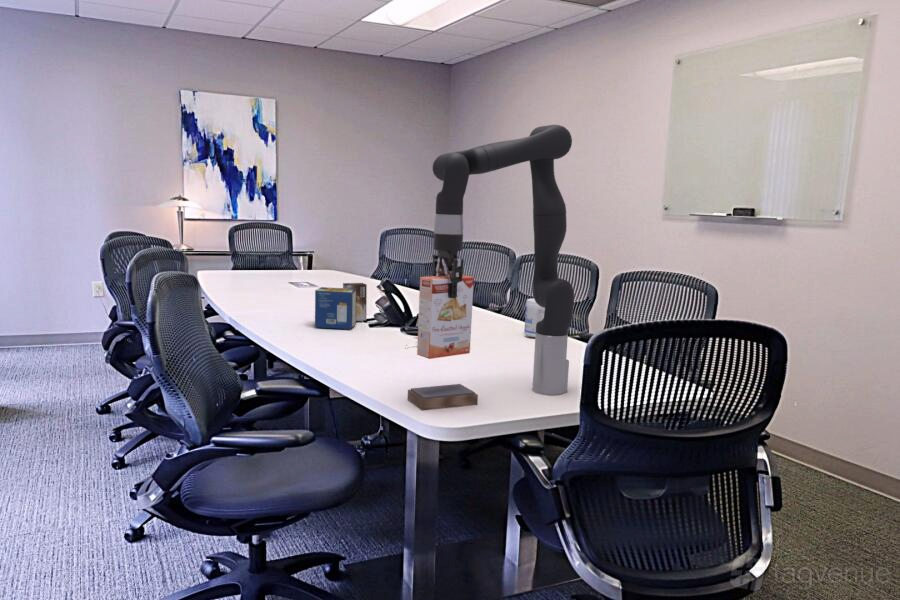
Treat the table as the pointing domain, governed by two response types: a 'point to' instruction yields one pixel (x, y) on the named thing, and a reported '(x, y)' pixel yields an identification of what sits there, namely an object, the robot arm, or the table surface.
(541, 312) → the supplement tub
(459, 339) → the cracker box
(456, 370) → the table surface
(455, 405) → the podium
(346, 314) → the protein box
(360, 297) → the coffee box
